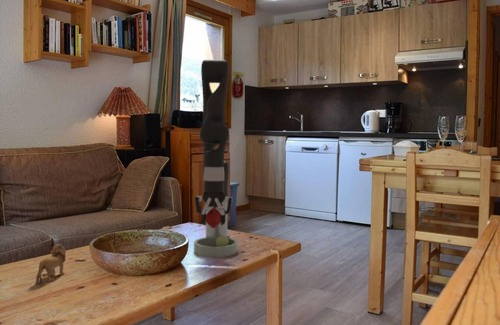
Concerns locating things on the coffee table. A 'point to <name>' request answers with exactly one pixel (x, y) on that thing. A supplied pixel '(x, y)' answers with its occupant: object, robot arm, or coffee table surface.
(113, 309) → the coffee table surface
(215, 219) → the onion
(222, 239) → the lime
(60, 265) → the lion figurine
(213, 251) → the bowl
